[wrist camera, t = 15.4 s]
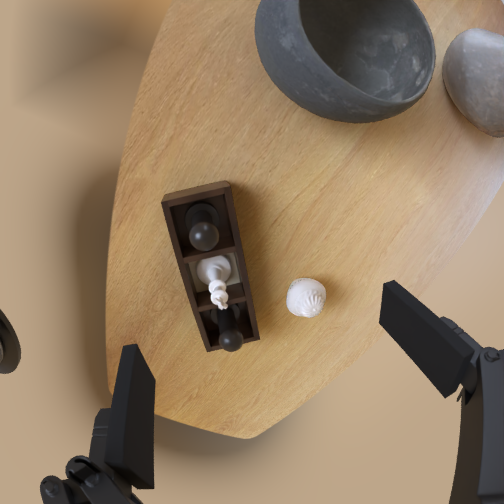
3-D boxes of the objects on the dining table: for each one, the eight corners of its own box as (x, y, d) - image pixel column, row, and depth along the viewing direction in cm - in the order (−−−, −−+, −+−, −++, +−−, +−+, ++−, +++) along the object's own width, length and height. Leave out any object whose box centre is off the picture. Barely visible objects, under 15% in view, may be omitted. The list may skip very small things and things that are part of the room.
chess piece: (209, 244, 39) (216, 279, 30) (238, 263, 41) (253, 302, 32) (188, 271, 40) (189, 312, 30) (216, 289, 41) (225, 332, 32)
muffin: (311, 262, 44) (331, 284, 38) (320, 293, 47) (338, 317, 40) (274, 279, 44) (288, 304, 37) (285, 309, 46) (300, 335, 40)
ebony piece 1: (189, 237, 38) (189, 265, 30) (181, 205, 36) (178, 225, 28) (221, 229, 38) (230, 255, 30) (214, 197, 37) (221, 215, 29)
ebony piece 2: (213, 324, 44) (219, 363, 36) (206, 301, 42) (211, 338, 34) (241, 317, 44) (252, 355, 36) (235, 294, 43) (246, 330, 35)
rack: (204, 333, 45) (206, 352, 41) (164, 194, 36) (160, 202, 32) (253, 321, 46) (260, 339, 42) (225, 180, 37) (230, 185, 32)
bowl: (333, 152, 38) (401, 166, 24) (209, 66, 30) (221, 23, 17) (395, 59, 34) (464, 46, 20) (292, -25, 26) (336, -76, 12)
